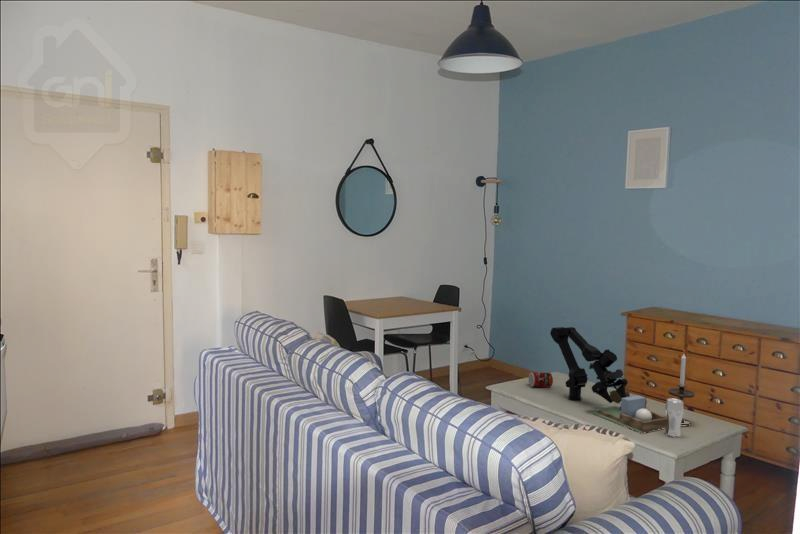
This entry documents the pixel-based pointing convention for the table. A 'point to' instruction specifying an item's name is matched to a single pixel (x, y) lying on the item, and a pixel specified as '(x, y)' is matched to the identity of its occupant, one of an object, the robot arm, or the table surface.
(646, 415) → the ball
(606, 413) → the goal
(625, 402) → the block
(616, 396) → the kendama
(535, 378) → the canned food
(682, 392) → the candlestick
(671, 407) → the beer glass
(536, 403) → the table surface
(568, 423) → the table surface
